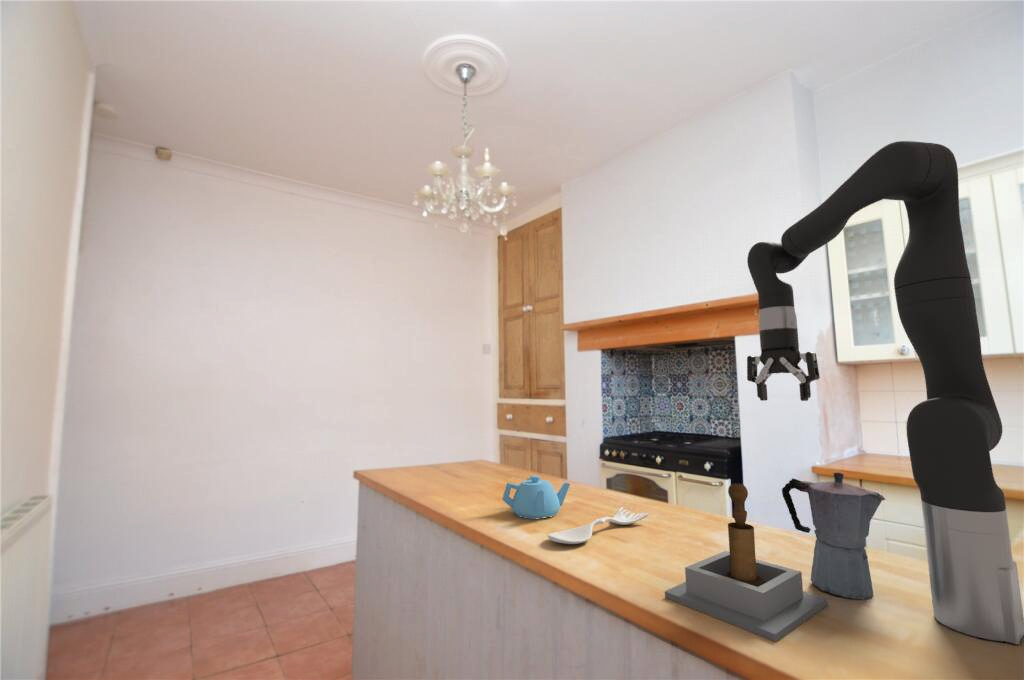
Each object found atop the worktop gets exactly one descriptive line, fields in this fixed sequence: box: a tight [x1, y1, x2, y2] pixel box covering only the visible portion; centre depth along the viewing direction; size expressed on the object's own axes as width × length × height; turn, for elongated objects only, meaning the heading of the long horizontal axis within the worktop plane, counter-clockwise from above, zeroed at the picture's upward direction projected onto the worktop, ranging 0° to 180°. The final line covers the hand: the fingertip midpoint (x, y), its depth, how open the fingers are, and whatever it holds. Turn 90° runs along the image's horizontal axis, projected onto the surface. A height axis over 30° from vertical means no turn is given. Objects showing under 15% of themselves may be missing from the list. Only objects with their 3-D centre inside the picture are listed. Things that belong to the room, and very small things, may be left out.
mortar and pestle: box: [724, 482, 765, 587], centre depth 78 cm, size 7×6×18 cm
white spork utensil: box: [546, 506, 649, 545], centre depth 116 cm, size 9×32×4 cm, turn 131°
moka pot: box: [781, 471, 886, 600], centre depth 82 cm, size 10×15×20 cm, turn 54°
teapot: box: [502, 474, 571, 518], centre depth 135 cm, size 15×15×11 cm
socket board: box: [664, 550, 828, 642], centre depth 78 cm, size 18×18×5 cm
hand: (783, 400), depth 104 cm, fingers open, 8 cm apart
